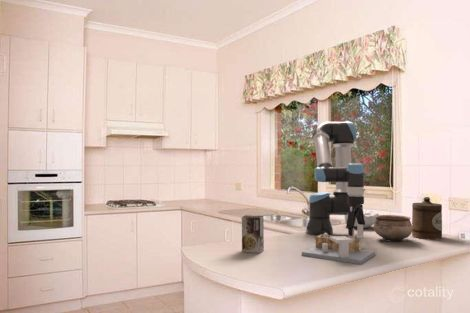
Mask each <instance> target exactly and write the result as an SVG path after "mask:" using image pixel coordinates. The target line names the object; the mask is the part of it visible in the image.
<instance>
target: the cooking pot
mask: <svg viewBox="0 0 470 313" xmlns="http://www.w3.org/2000/svg"><path fill="white" fill-rule="evenodd" d="M375 217H376V220H375V223H374V224H373V230H374V232H375V233H376V234H377V235H378V236H379V237H381V238H382V239H384V240H385V241H387V242H396V243H397V242H401V241H402V240H405V239H407V238H408V237H410V236H411V235H412V230H413V228H412V221H411V220H412V217H410V216H405V215H396V214H379V215H377V216H375Z"/></svg>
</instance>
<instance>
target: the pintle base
mask: <svg viewBox="0 0 470 313" xmlns="http://www.w3.org/2000/svg"><path fill="white" fill-rule="evenodd" d="M333 236H334V237H330V240H332V241H334V242H336V243H339V250H335V249H328V244H327V243H323V244H322V248H316V245H314V246H312V247H310V248H307V249H306V250H303V251H301V256H303V257H311V258H317V259H325V260H331V261H336V262H337V261H338V262H345V263H351V264H357V265H362V264H363V263H365V262H367V261H368V260H369V259H371V258H372V257H373V256H375V254H376V251H375V250H369V249H368V250H367V249H361V248H360V251H358V252H350V251H349V243H351V242H353V239H351V238H348V236H345V235H343V236H342V235H340V236H339V235H338V236H337V235H333ZM324 237H328V233H324Z"/></svg>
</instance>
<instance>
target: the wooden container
mask: <svg viewBox="0 0 470 313" xmlns="http://www.w3.org/2000/svg"><path fill="white" fill-rule="evenodd" d="M411 206H412V210H411V211H412V215H411V224H412V228H413V230H412V233H411V236H412V237H413V238H417V239H423V240H440V239H442V238H443V212H442V210H443V205H442V203H441V204H440V203H436V202H435V203H434V202H432V201H431V198H430V197H429V196H424V197H423V201H422V202H413V203H412V204H411Z"/></svg>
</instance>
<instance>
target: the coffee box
mask: <svg viewBox="0 0 470 313" xmlns="http://www.w3.org/2000/svg"><path fill="white" fill-rule="evenodd" d="M264 226H265V225H264V215H251V214H250V215H249V214H247V215H246V214H245V215H244V216H241V253H242V252H243V253H256V254H257V253H258V254H261V253H263V252H264V251H265V244H264V243H265V242H264V240H265V239H264V234H265V233H264V232H265V231H264Z"/></svg>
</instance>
